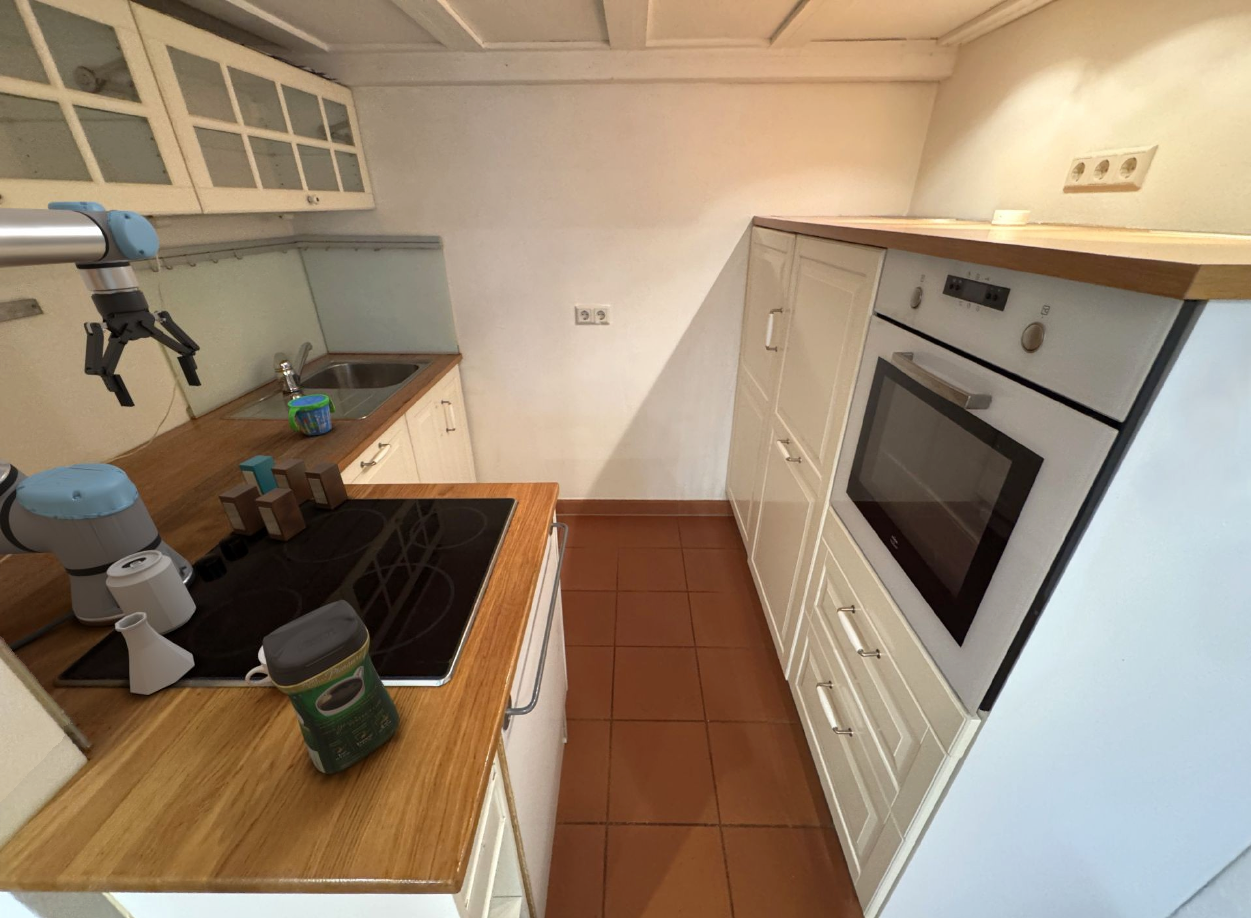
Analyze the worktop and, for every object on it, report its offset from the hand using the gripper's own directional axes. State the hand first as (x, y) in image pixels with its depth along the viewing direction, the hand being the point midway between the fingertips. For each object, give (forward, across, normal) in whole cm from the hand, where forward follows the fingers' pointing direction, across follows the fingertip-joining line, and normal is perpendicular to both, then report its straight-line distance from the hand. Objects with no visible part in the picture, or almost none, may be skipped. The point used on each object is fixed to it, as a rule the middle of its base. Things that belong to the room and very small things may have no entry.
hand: (163, 395), depth 106 cm
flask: (+25, +42, +44) cm, 66 cm away
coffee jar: (+25, +44, +78) cm, 93 cm away
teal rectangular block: (+25, -3, +14) cm, 29 cm away
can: (+25, +34, +34) cm, 54 cm away
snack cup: (+25, -38, -5) cm, 46 cm away
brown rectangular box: (+25, -3, +23) cm, 34 cm away
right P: (+25, -3, +32) cm, 41 cm away
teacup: (+25, +38, +63) cm, 78 cm away
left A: (+25, +9, +23) cm, 35 cm away
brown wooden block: (+25, +9, +32) cm, 41 cm away
